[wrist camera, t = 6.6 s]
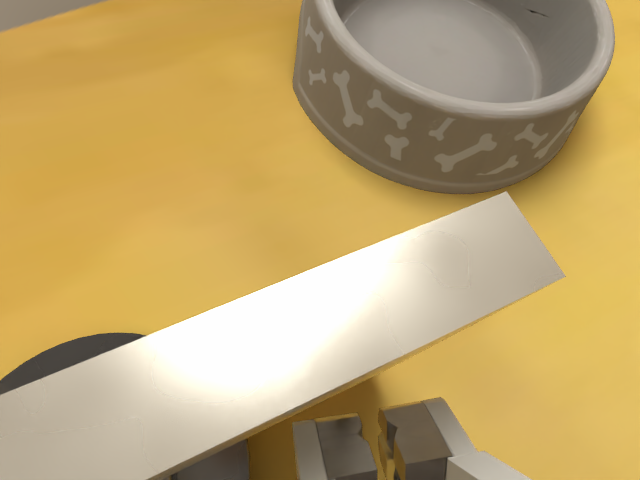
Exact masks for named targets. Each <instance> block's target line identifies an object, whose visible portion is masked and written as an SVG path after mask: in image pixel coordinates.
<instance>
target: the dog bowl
mask: <svg viewBox="0 0 640 480" xmlns="http://www.w3.org/2000/svg"><path fill="white" fill-rule="evenodd" d="M614 44H615V34H614V25H613V20H612V17H611V13H610V10H609V8H608V5H607V3H606V1H605V0H303V1H302V5H301V11H300V17H299V29H298V40H297V52H296V61H295V68H294V76H293V89H294V92H295V94H296V96H297V98H298V101H299V103H300V105H301V106H302V108H303V110H304V111H305V113H306V114H307V116H308V117H309V118H310V120H311V121H312V122H313V123H314V125H315V126H316V127H317V128H318V129H319V131H320V132H321V133H322V134H323V135H324V136H325V137H326V138H327V139H328V140H329V141H330V142H331V143H332V144H333V145H334V146H336V147H337V148H338V149H339V150H340V151H342V152H343V153H344V154H345V155H347V156H348V157H349V158H351V159H352V160H354V161H355V162H357V163H358V164H360V165H361V166H363V167H365V168H366V169H368V170H370V171H372V172H374V173H376V174H378V175H380V176H382V177H384V178H386V179H389V180H391V181H394V182H397V183H400V184H403V185H406V186H409V187H413V188H416V189H421V190H425V191H431V192H438V193H449V194H471V193H481V192H488V191H493V190H497V189H501V188H504V187H507V186H510V185H512V184H515V183H517V182H520V181H522V180H524V179H526V178H528V177H529V176H531V175H533V174H534V173H536V172H537V171H539V170H540V169H541V168H543V167H544V166H545V165H546V164H548V163H549V162H550V161H551V160H552V159H553V158H554V157H555V155H556V154H557V153H558V152H559V151H560V149H561V148H562V146H563V145H564V143H565V142H566V140H567V138H568V136H569V135H570V133H571V131H572V129H573V127H574V126H575V124H576V122H577V120H578V118H579V117H580V115H581V113H582V112H583V110H584V109H585V107H586V105H587V104H588V102H589V101H590V99H591V97H592V96H593V94H594V93H595V91H596V89H597V88H598V86H599V85H600V83H601V81H602V80H603V78H604V76H605V75H606V73H607V71H608V68H609V66H610V64H611V60H612V57H613V52H614Z"/></svg>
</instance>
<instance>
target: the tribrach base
mask: <svg viewBox="0 0 640 480" xmlns="http://www.w3.org/2000/svg"><path fill="white" fill-rule="evenodd" d="M143 337H146V335H141V334H135V333H106V334H97V335H92V336H87V337H82V338H78V339H75V340H72V341H68V342H65V343H62V344H60V345H57V346H55V347H53V348H51V349H48V350H46V351H44V352H42V353H40V354H38V355H37V356H35V357H33V358H31V359H30V360H28V361H26V362H25V363H23V364H22V365H20V366H19V367H17V368H16V369H15V370H13V371H12V372H11V373H9V374H8V375H6V376H5V377H4V378H3V379H2V380H1V381H0V395H1V394H4V393H6V392H9V391H11V390H14V389H16V388H19V387H21V386H24V385H26V384H29V383H31V382H34V381H36V380H39V379H41V378H44V377H46V376H49V375H51V374H54V373H56V372H59V371H61V370H64V369H66V368H69V367H71V366H74V365H76V364H78V363H81V362H83V361H86V360H88V359H91V358H93V357H96V356H98V355H101V354H103V353H106V352H108V351H111V350H113V349H116V348H118V347H121V346H123V345H126V344H128V343H131V342H133V341H136V340H138V339H141V338H143ZM178 480H250V455H249V448H248V442H247V438H246V439H244V440H242V441H240V442H238V443H236V444H234V445H232V446H230V447H228V448H226V449H224V450H222V451H220V452H218V453H216V454H214V455H212V456H210V457H208V458H206V459H203V460H201V461H199V462H197V463H195V464H193V465H191V466H189V467H187V468H185V469H183V470H181V471H179V472H178Z"/></svg>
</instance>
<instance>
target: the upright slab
mask: <svg viewBox="0 0 640 480" xmlns="http://www.w3.org/2000/svg"><path fill="white" fill-rule="evenodd" d="M564 277H566V276H565V275H564V273H563V272H562V270H561V269H560V267H559V266H558V265H557V263H556V262H555V260H554V259H553V257H552V256H551V254H550V253H549V252H548V250H547V249H546V247H545V246H544V244H543V243H542V242H541V240H540V239H539V237H538V236H537V234H536V233H535V231H534V230H533V229H532V227H531V226H530V224H529V223H528V221H527V220H526V219H525V217H524V216H523V214H522V213H521V211H520V210H519V208H518V207H517V206H516V204H515V203H514V201H513V200H512V198H511V197H510V195H509V194H508V193H507V191H506V192H503V193H501V194H499V195H496V196H494V197H491V198H489V199H486V200H484V201H481V202H479V203H476V204H474V205H471V206H469V207H466V208H464V209H461V210H459V211H456V212H454V213H451V214H449V215H446V216H444V217H441V218H439V219H436V220H434V221H431V222H429V223H426V224H424V225H421V226H419V227H416V228H414V229H412V230H409V231H407V232H404V233H402V234H399V235H397V236H394V237H392V238H389V239H387V240H384V241H382V242H379V243H377V244H374V245H372V246H369V247H367V248H364V249H362V250H359V251H357V252H354V253H352V254H349V255H347V256H344V257H342V258H339V259H337V260H334V261H332V262H330V263H327V264H325V265H322V266H320V267H317V268H315V269H312V270H310V271H307V272H305V273H302V274H300V275H297V276H295V277H292V278H290V279H287V280H285V281H282V282H280V283H277V284H275V285H272V286H270V287H267V288H265V289H262V290H260V291H257V292H255V293H252V294H250V295H247V296H245V297H243V298H240V299H238V300H235V301H233V302H230V303H228V304H225V305H223V306H220V307H218V308H215V309H213V310H210V311H208V312H205V313H203V314H200V315H198V316H195V317H193V318H190V319H188V320H185V321H183V322H180V323H178V324H175V325H173V326H170V327H168V328H165V329H163V330H161V331H158V332H156V333H153V334H151V335H148V336H146V337H143V338H141V339H138V340H136V341H133V342H131V343H128V344H126V345H123V346H121V347H118V348H116V349H113V350H111V351H108V352H106V353H103V354H101V355H98V356H96V357H93V358H91V359H88V360H86V361H83V362H81V363H78V364H76V365H74V366H71V367H69V368H66V369H64V370H61V371H59V372H56V373H54V374H51V375H49V376H46V377H44V378H41V379H39V380H36V381H34V382H31V383H29V384H26V385H24V386H21V387H19V388H16V389H14V390H11V391H9V392H6V393H4V394H1V395H0V480H178V472H179V471H181V470H183V469H185V468H187V467H189V466H191V465H193V464H195V463H197V462H199V461H201V460H203V459H206V458H208V457H210V456H212V455H214V454H216V453H218V452H220V451H222V450H224V449H226V448H228V447H230V446H232V445H234V444H236V443H238V442H240V441H242V440H244V439H246V438H249V437H251V436H253V435H255V434H257V433H259V432H261V431H263V430H265V429H267V428H269V427H271V426H273V425H275V424H277V423H279V422H281V421H283V420H285V419H287V418H289V417H292V416H294V415H296V414H298V413H300V412H302V411H304V410H306V409H308V408H310V407H312V406H314V405H316V404H318V403H320V402H322V401H324V400H326V399H328V398H330V397H332V396H334V395H337V394H339V393H341V392H343V391H345V390H347V389H349V388H351V387H353V386H355V385H357V384H359V383H361V382H363V381H365V380H367V379H369V378H371V377H373V376H375V375H377V374H380V373H382V372H384V371H386V370H388V369H389V368H391V367H393V366H395V365H397V364H399V363H401V362H403V361H405V360H407V359H409V358H411V357H412V356H414V355H416V354H418V353H420V352H422V351H424V350H426V349H428V348H430V347H432V346H433V345H435V344H437V343H439V342H441V341H443V340H445V339H447V338H449V337H451V336H453V335H455V334H456V333H458V332H460V331H462V330H464V329H466V328H468V327H470V326H472V325H474V324H476V323H478V322H479V321H481V320H483V319H485V318H487V317H489V316H491V315H493V314H495V313H497V312H499V311H501V310H502V309H504V308H506V307H508V306H510V305H512V304H514V303H516V302H518V301H520V300H522V299H523V298H525V297H527V296H529V295H531V294H533V293H535V292H537V291H539V290H541V289H543V288H545V287H546V286H548V285H550V284H552V283H554V282H556V281H558V280H560V279H562V278H564Z"/></svg>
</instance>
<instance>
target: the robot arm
mask: <svg viewBox="0 0 640 480" xmlns="http://www.w3.org/2000/svg"><path fill="white" fill-rule="evenodd" d="M378 423H379V425H380V428H381V430H382V432H381V433H380V435H379V436H378V447H379V454H380V461H381V464H382V468H383V472H384V474H385V477H386V480H532V479H530V478H528V477H527V476H525V475H523V474H522V473H520V472H518V471H517V470H515V469H513V468H512V467H510V466H508V465H507V464H505V463H503V462H502V461H500V460H498V459H497V458H495V457H494V456H492V455H490V454H489V453H487V452H485V451H481V452H478V451H477V450H476V448H475V447H474V445H473V443H472V442H471V440H470V439H469V437H468V436H467V434H466V432H465V431H464V429H463V428H462V426H461V425H460V423H459V421H458V420H457V418H456V417H455V415H454V414H453V412H452V410H451V409H450V407H449V406H448V404H447V403H446V401H445V400H444V399H443V398H441V397H439V398H434V399H428V400H423V401H420V402H419V401H418V402H412V403H407V404H401V405H395V406H390V407H384V408H379V412H378ZM292 429H293V440H294V450H295V461H296V471H297V480H377V468H376V465H375V462H374V459H373V456H372V453H371V450H370V447H369V444H368V442H367V441H366V440H364V439H363V436H362V423H361V420H360V418H359V415H358V414H357V413H350V414H343V415H336V416H329V417H321V418H315V419H312V420H304V421H297V422H292Z"/></svg>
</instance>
